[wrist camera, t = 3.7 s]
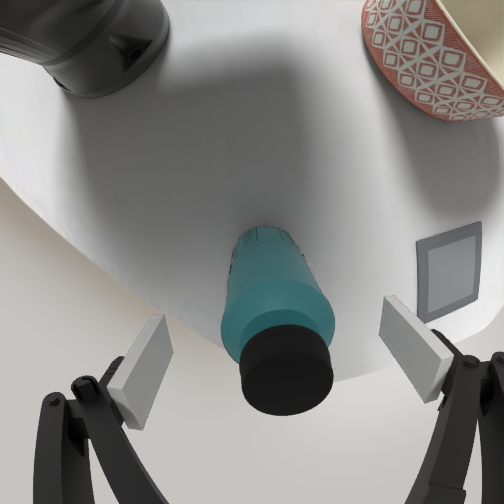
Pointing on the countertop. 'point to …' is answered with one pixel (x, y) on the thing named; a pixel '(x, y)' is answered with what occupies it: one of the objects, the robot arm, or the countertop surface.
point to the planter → (441, 53)
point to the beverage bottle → (277, 325)
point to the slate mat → (448, 271)
